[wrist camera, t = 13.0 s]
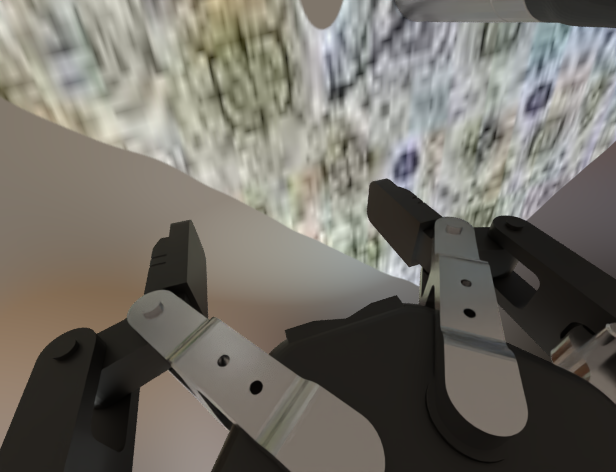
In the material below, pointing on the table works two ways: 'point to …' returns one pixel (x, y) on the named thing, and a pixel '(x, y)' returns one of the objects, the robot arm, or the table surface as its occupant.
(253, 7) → the table surface
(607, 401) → the robot arm
